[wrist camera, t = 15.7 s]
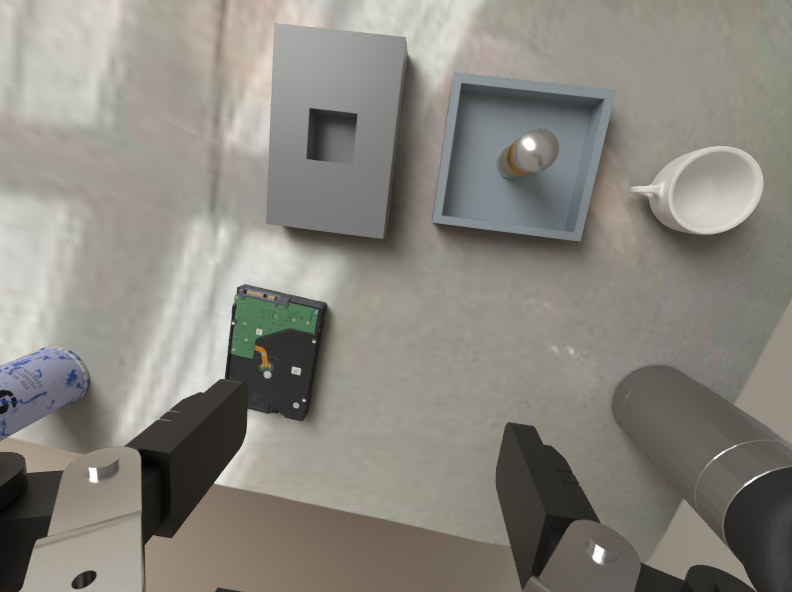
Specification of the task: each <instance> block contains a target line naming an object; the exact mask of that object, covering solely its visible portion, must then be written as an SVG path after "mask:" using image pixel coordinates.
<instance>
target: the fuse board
mask: <svg viewBox="0 0 792 592" xmlns="http://www.w3.org/2000/svg"><path fill="white" fill-rule="evenodd" d="M407 57H408V52H407V43H406V37H398V36H389V35H379V34H370V33H361V32H351V31H342V30H333V29H324V28H314V27H305V26H296V25H286V24H277V23H274V46H273V70H272V95H271V120H270V145H269V169H268V194H267V219H266V224H272V225H279V226H287V227H295V228H302V229H310V230H318V231H325V232H333V233H341V234H348V235H356V236H364V237H371V238H379V239H384V238H385V237H386V236H387V230H388V221H389V212H390V204H391V195H392V186H393V178H394V169H395V161H396V152H397V143H398V135H399V126H400V117H401V109H402V100H403V91H404V83H405V74H406V65H407Z"/></svg>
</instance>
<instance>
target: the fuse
mask: <svg viewBox="0 0 792 592" xmlns="http://www.w3.org/2000/svg"><path fill="white" fill-rule="evenodd" d="M558 153H559V143H558V140H557V138H556V136H555V135H554V134H553V133H552V132H551V131H549V130H547V129H543V128H537V129H533V130H531V131H529V132H528V133H526V134H525V135H523V136H522V137H521V138H519V139H518V140H516V141H515V142H514V143H512V144H511V145H509V146H508V147H507V148H505V149H504V150H503V151H502V152H501V153H500V154H499V156H498V158H497V169H498V171H499V173H500V174H501V175H502V176H503V177H505V178H507V179H516V178H519V177H522V176H526V175H529V174H532V173H536V172H539V171H542V170H545V169H547V168H549V167H550V166H551V165H552V164H553V163H554V162H555V160H556V159H557V156H558Z"/></svg>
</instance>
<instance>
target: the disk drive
mask: <svg viewBox="0 0 792 592" xmlns="http://www.w3.org/2000/svg"><path fill="white" fill-rule="evenodd" d="M326 305H327V304H326V303H325V302H320V301H315V300H311V299H307V298H303V297H299V296H294V295H289V294H284V293H281V292H277V291H272V290H268V289H263V288H259V287H254V286H250V285H246V284H244V285H242V286H239V287H238V288H237V294H235V302H234V304H233V307H232V319H231V328H230V335H229V345H228V355H227V363H226V372H225V379H226V380H233V381H239V382H245V383H246V384H247V386H248V408H247V409H252V410H255V411H260V412H263V413H279V412H281V414H282V415H284V416H285V418H289V419H294V420H298V421H303V419H304V418H305V416H306V414H307V412H308V409H309V404H310V399H311V390H312V385H313V379H314V373H315V367H316V362H317V356H318V350H319V344H320V339H321V333H322V328H323V326H324V317H325V311H326Z"/></svg>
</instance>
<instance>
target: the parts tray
mask: <svg viewBox="0 0 792 592" xmlns="http://www.w3.org/2000/svg"><path fill="white" fill-rule="evenodd" d="M615 93H616V90H610V89H601V88H592V87H583V86H574V85H565V84H556V83H547V82H538V81H529V80H520V79H511V78H501V77H492V76H483V75H474V74H465V73H456V72H454V75H453V79H452V84H451V91H450V98H449V105H448V112H447V119H446V126H445V133H444V140H443V147H442V154H441V161H440V168H439V175H438V182H437V189H436V196H435V203H434V210H433V217H432V222H433V223H439V224H447V225H455V226H463V227H471V228H479V229H486V230H494V231H502V232H510V233H518V234H526V235H533V236H541V237H549V238H557V239H565V240H572V241H581V237H582V233H583V229H584V225H585V220H586V216H587V212H588V208H589V203H590V199H591V195H592V191H593V186H594V182H595V178H596V174H597V170H598V165H599V161H600V157H601V153H602V148H603V144H604V140H605V136H606V131H607V127H608V123H609V119H610V115H611V110H612V106H613V102H614V98H615ZM537 128H543V129H547V130H549V131H551V132H552V133H553V134H554V135H555V136H556V138H557V140H558V143H559V153H558V156H557V159H556V160H555V162H554V163H553V164H552V165H551V166H550V167H549V168H547V169H545V170H542V171H539V172H536V173H532V174H529V175H526V176H522V177H519V178H516V179H507V178H505V177H503V176H502V175H501V174H500V173H499V171H498V169H497V158H498V156H499V154H500V153H501V152H502V151H503V150H504V149H505V148H507V147H508V146H509V145H511V144H512V143H514V142H515V141H516V140H518V139H519V138H521V137H522V136H523V135H525V134H526V133H528V132H529V131H531V130H533V129H537Z"/></svg>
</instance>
